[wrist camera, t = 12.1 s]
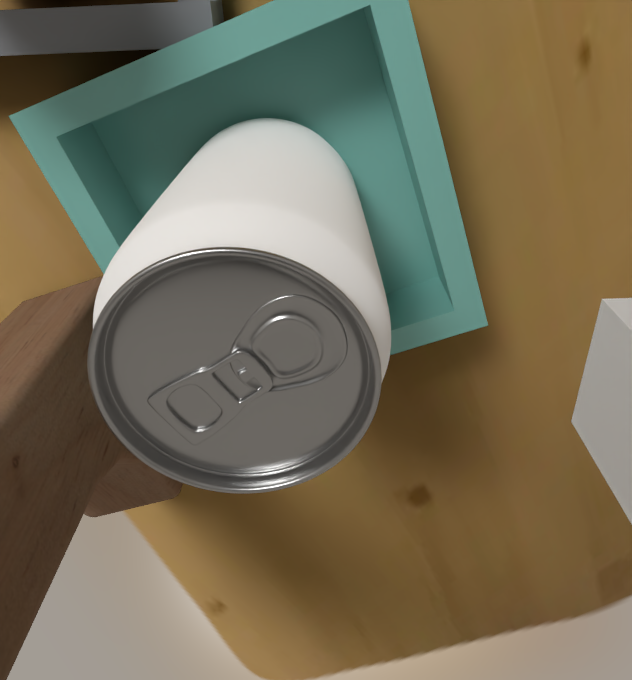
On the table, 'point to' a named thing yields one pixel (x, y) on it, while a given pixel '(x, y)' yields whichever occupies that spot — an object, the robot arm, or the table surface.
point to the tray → (288, 104)
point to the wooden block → (54, 453)
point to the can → (244, 317)
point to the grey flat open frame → (105, 27)
